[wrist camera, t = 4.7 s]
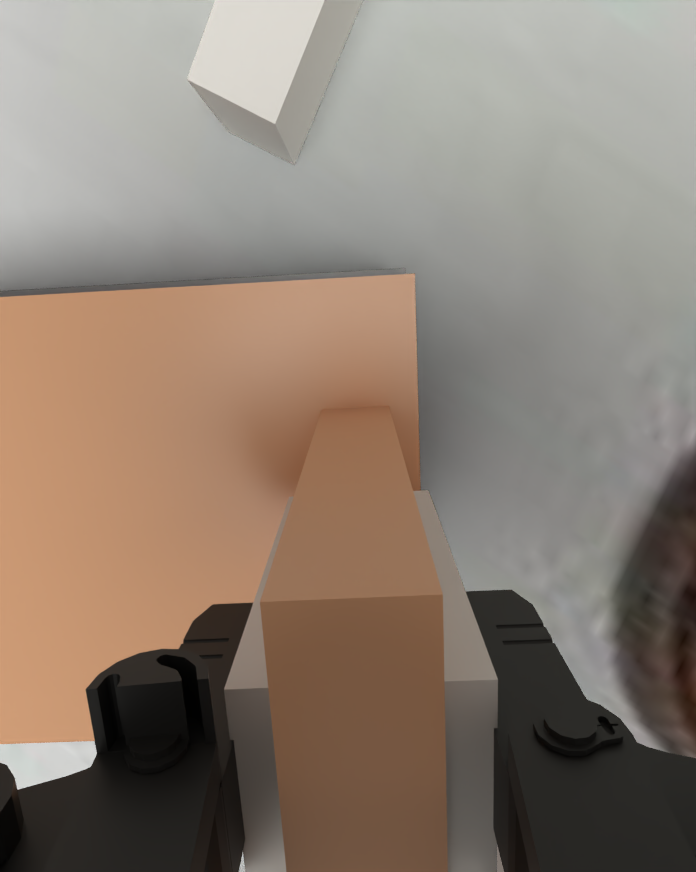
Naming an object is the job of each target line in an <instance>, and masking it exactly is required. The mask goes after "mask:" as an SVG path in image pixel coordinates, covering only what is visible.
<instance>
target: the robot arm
mask: <svg viewBox="0 0 696 872" xmlns="http://www.w3.org/2000/svg"><path fill="white" fill-rule="evenodd" d="M413 492H414V496H415V499H416V503H417V506H418V510H419V513H420V517H421V520H422V523H423V527H424V530H425V534H426V537H427V541H428V544H429V548H430V551H431V555H432V558H433V562H434V565H435V569H436V572H437V576H438V579H439V583H440V586H441V590H442V593H443V629H444V684H445V739H446V794H447V849H448V872H497V845H498V848H499V852H500V857H501V860H502V865H503V868H504V872H696V758H691V757H686V756H681V755H676V754H671V753H667V752H663V751H660V750H656V749H653V748H649V747H646V746H644V745H642V744H639V743H637V742H636V740H635V738H634V737H633V735H632V733H631V732H630V731H629V730H628V728H627V727H626V726H625V725H624V723H623V722H622V721H621V719H620V718H618V717H617V716H616V715H614V714H613V713H611V712H610V711H608V710H607V709H605V708H604V707H602V706H601V705H599V704H596V703H594V702H591V701H588V700H587V699H586V698H585V696H584V694H583V692H582V691H581V689H580V687H579V685H578V684H577V682H576V680H575V678H574V677H573V675H572V673H571V671H570V670H569V668H568V666H567V664H566V663H565V661H564V659H563V657H562V656H561V654H560V652H559V650H558V649H557V647H556V645H555V643H553V642H552V638H551V636H550V634H549V633H548V631H547V629H546V627H544V626H543V622H542V620H541V619H540V617H539V615H538V613H537V612H536V610H535V608H534V606H533V605H532V604H531V603H529V602H528V601H527V600H525V599H524V598H522V597H521V596H520V595H518V594H517V593H515V592H514V591H513V590H492V591H468V592H466V591H465V588H464V586H463V583H462V580H461V578H460V575H459V572H458V569H457V567H456V564H455V561H454V559H453V556H452V553H451V550H450V548H449V545H448V542H447V539H446V537H445V534H444V531H443V529H442V526H441V523H440V520H439V518H438V515H437V512H436V510H435V507H434V504H433V501H432V499H431V496H430V493H429V490H424V491H413ZM292 500H293V497H289V499H288V502H287V505H286V508H285V511H284V514H283V517H282V520H281V523H280V526H279V529H278V532H277V535H276V538H275V540H274V543H273V546H272V549H271V552H270V555H269V558H268V561H267V564H266V567H265V570H264V573H263V576H262V579H261V582H260V585H259V588H258V591H257V594H256V596H255V599H254V602H253V603H231V604H213V605H211V606H210V607H209V608H208V609H207V610H205V611H204V612H203V613H202V614H201V615H199V616H198V617H197V618H196V619H195V620H193V622H192V624H191V626H190V628H189V630H188V632H187V633H186V635H185V637H184V639H183V644H181V645H180V647H179V649H158V650H153V651H147V652H142V653H138V654H136V655H133V656H131V657H128V658H126V659H123V660H121V661H118V662H116V663H115V664H113V665H112V666H110V667H109V668H107V669H106V670H104V671H103V672H101V673H100V674H98V675H97V677H96V678H95V679H94V680H93V681H92V682H91V684H90V685H89V686H88V687H87V688H86V689H85V690H86V695H87V701H88V706H89V712H90V717H91V723H92V728H93V734H94V739H95V745H96V750H97V755H96V757H95V760H94V762H93V764H92V766H91V767H90V768H88V769H86V770H83V771H80V772H77V773H74V774H72V775H69V776H66V777H62V778H59V779H55V780H51V781H48V782H44V783H41V784H37V785H33V786H30V787H26V788H23V789H19V790H17V787H16V782H15V778H14V776H13V774H12V773H11V771H10V770H9V768H8V766H7V765H5V764H2V763H0V872H239V867H240V862H241V857H242V852H243V854H244V863H245V871H246V872H286V863H285V852H284V842H283V832H282V822H281V812H280V802H279V791H278V781H277V771H276V761H275V751H274V741H273V730H272V720H271V710H270V700H269V690H268V680H267V669H266V659H265V649H264V639H263V629H262V619H261V608H260V600H261V597H262V594H263V591H264V588H265V584H266V581H267V578H268V575H269V572H270V569H271V566H272V563H273V559H274V556H275V553H276V550H277V547H278V544H279V541H280V538H281V535H282V531H283V528H284V525H285V522H286V519H287V516H288V513H289V510H290V506H291V503H292Z"/></svg>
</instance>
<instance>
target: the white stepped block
mask: <svg viewBox="0 0 696 872" xmlns="http://www.w3.org/2000/svg"><path fill="white" fill-rule="evenodd" d="M362 2H363V0H215V2H214V5H213V8H212V11H211V13H210V16H209V19H208V22H207V24H206V27H205V30H204V33H203V36H202V38H201V41H200V44H199V47H198V49H197V52H196V55H195V58H194V60H193V63H192V66H191V69H190V72H189V74H188V77H187V80H188V81H189V83H190V84H191V85H192V86H193V88H194V89H195V90H196V91H197V93H198V94H199V95H200V97H201V98H202V99H203V100H204V102H205V103H206V104H207V105H208V107H209V108H210V109H211V110H212V112H213V113H214V114H215V115H216V117H217V118H218V119H219V121H220V122H221V123H222V124H223V126H224V127H225V128H226V129H227V131H228V132H229V133H231V134H233V135H235V136H237V137H239V138H241V139H243V140H245V141H247V142H249V143H251V144H253V145H255V146H257V147H259V148H261V149H263V150H265V151H267V152H269V153H271V154H273V155H275V156H277V157H279V158H281V159H283V160H285V161H287V162H289V163H291V164H293V165H295V164H296V161H297V159H298V156H299V154H300V152H301V149H302V147H303V144H304V142H305V139H306V137H307V135H308V132H309V130H310V127H311V125H312V123H313V120H314V118H315V115H316V113H317V111H318V108H319V106H320V103H321V101H322V99H323V96H324V94H325V91H326V89H327V87H328V84H329V82H330V79H331V77H332V74H333V72H334V70H335V67H336V65H337V62H338V60H339V58H340V55H341V53H342V50H343V48H344V46H345V43H346V41H347V38H348V36H349V34H350V31H351V29H352V26H353V24H354V22H355V19H356V17H357V14H358V12H359V9H360V7H361V5H362Z"/></svg>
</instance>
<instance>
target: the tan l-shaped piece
mask: <svg viewBox="0 0 696 872" xmlns="http://www.w3.org/2000/svg"><path fill="white" fill-rule="evenodd" d="M413 491H421V486H420V448H419V411H418V373H417V336H416V298H415V274H398V275H380V276H362V277H345V278H327V279H310V280H292V281H274V282H257V283H239V284H221V285H204V286H186V287H168V288H151V289H133V290H116V291H98V292H80V293H63V294H45V295H27V296H10V297H0V744H16V743H45V742H74V741H95V739H94V734H93V728H92V723H91V717H90V712H89V706H88V701H87V695H86V690H85V689H86V688H87V687H88V686H89V685H90V684H91V682H92V681H93V680H94V679H95V678H96V677H97V675H98V674H100V673H101V672H103V671H104V670H106V669H107V668H109V667H110V666H112V665H113V664H115V663H116V662H118V661H121V660H123V659H126V658H128V657H131V656H133V655H136V654H138V653H142V652H147V651H153V650H158V649H179V647H180V645H181V644H183V639H184V637H185V635H186V633H187V632H188V630H189V628H190V626H191V624H192V622H193V620H195V619H196V618H197V617H198V616H199V615H201V614H202V613H203V612H204V611H205V610H207V609H208V608H209V607H210V606H211V605H213V604H231V603H253V602H254V599H255V596H256V594H257V591H258V588H259V585H260V582H261V579H262V576H263V573H264V570H265V567H266V564H267V561H268V558H269V555H270V552H271V549H272V546H273V543H274V540H275V538H276V535H277V532H278V529H279V526H280V523H281V520H282V517H283V514H284V511H285V508H286V505H287V502H288V499H289V497H293V500H292V503H291V506H290V510H289V513H288V516H287V519H286V522H285V525H284V528H283V531H282V535H281V538H280V541H279V544H278V547H277V550H276V553H275V556H274V559H273V563H272V566H271V569H270V572H269V575H268V578H267V581H266V584H265V588H264V591H263V594H262V597H261V600H260V608H261V619H262V629H263V639H264V649H265V659H266V669H267V680H268V690H269V700H270V710H271V720H272V730H273V741H274V751H275V761H276V771H277V781H278V791H279V802H280V812H281V822H282V832H283V842H284V852H285V863H286V872H448V849H447V794H446V739H445V684H444V629H443V593H442V590H441V586H440V583H439V579H438V576H437V572H436V569H435V565H434V562H433V558H432V555H431V551H430V548H429V544H428V541H427V537H426V534H425V530H424V527H423V523H422V520H421V517H420V513H419V510H418V506H417V503H416V499H415V496H414V492H413Z"/></svg>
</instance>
